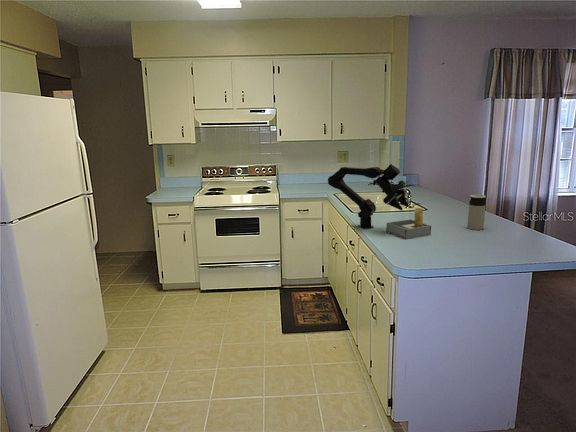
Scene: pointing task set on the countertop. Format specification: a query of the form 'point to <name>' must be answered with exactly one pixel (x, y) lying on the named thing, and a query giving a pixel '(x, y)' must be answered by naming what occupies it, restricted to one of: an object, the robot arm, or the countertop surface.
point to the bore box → (408, 229)
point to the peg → (418, 217)
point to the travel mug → (476, 212)
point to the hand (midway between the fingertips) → (405, 208)
